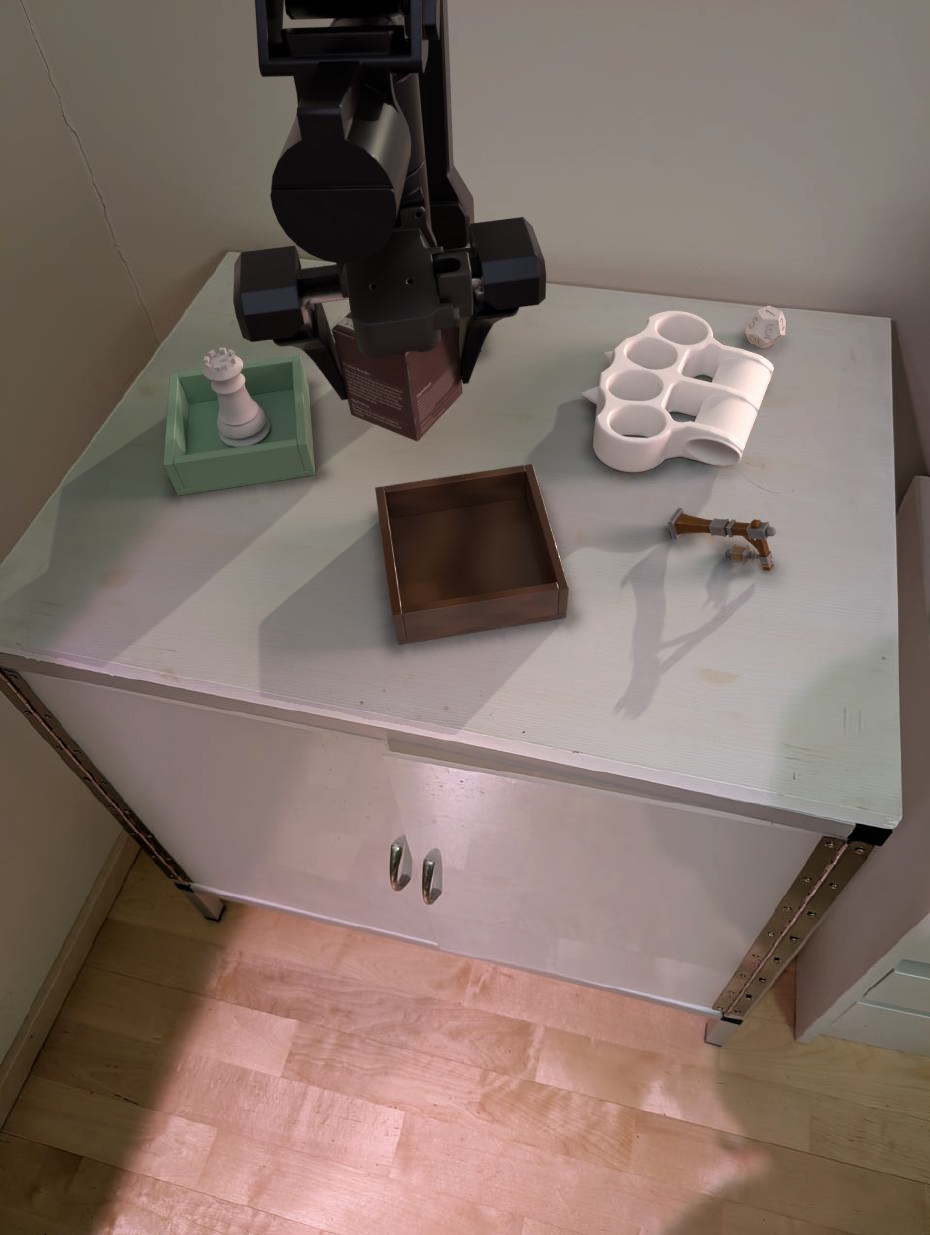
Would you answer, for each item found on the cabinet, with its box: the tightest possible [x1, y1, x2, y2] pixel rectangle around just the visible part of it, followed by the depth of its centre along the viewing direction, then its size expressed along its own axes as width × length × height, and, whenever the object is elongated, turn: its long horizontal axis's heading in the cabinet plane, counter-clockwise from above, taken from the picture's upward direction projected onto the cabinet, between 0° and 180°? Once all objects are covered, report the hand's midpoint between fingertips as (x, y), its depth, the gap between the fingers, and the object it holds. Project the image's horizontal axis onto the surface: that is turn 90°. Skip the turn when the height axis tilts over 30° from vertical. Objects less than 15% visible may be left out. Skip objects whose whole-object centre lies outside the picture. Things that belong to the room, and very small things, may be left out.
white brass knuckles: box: [579, 310, 775, 473], centre depth 72 cm, size 3×18×15 cm
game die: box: [745, 304, 787, 350], centre depth 76 cm, size 4×4×3 cm
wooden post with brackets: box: [667, 506, 777, 572], centre depth 62 cm, size 2×8×4 cm, turn 55°
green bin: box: [162, 354, 316, 496], centre depth 72 cm, size 12×12×4 cm
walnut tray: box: [374, 463, 570, 645], centre depth 63 cm, size 12×12×4 cm
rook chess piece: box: [202, 347, 270, 448], centre depth 70 cm, size 4×4×8 cm
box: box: [331, 311, 464, 442], centre depth 57 cm, size 6×6×7 cm
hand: (404, 388), depth 58 cm, fingers closed on box, 8 cm apart
